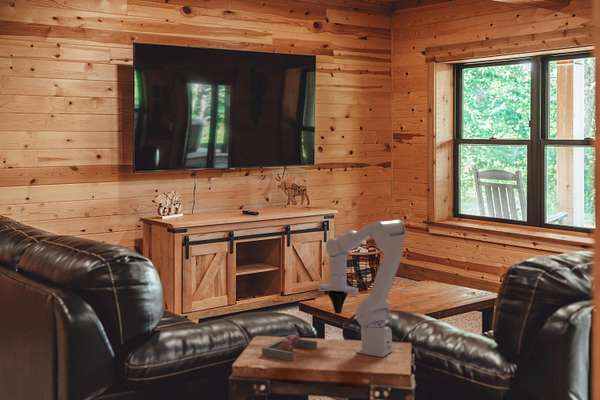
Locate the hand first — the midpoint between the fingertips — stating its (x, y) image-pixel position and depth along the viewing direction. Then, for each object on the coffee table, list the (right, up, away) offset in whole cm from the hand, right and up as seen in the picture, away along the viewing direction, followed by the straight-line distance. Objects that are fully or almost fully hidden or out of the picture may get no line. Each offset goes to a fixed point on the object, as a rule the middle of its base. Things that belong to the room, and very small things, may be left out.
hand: (338, 313), depth 252 cm
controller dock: (-17, -11, -12) cm, 23 cm away
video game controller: (-17, -11, -12) cm, 24 cm away
